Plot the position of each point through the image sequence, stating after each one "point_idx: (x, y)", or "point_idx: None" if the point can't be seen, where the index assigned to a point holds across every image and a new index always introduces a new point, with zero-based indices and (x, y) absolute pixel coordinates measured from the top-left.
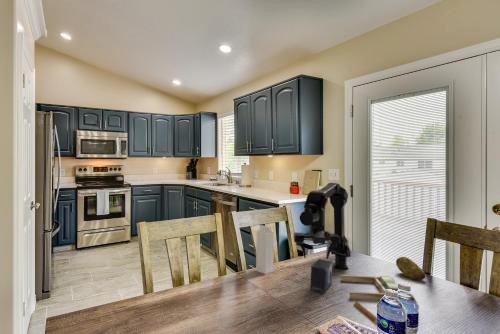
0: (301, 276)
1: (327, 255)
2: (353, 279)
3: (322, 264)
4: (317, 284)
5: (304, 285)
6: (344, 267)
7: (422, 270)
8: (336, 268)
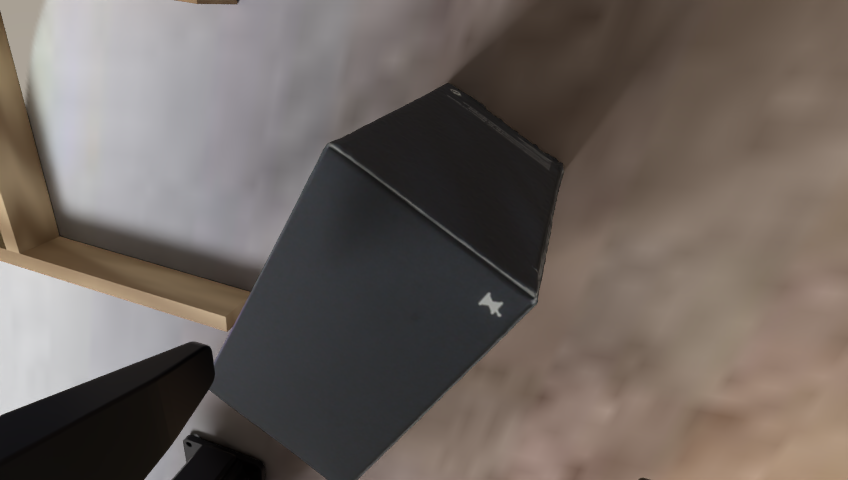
0: (548, 425)
1: (141, 381)
2: (164, 279)
3: (333, 324)
4: (491, 141)
5: (584, 273)
6: (201, 448)
7: None
8: (256, 459)
